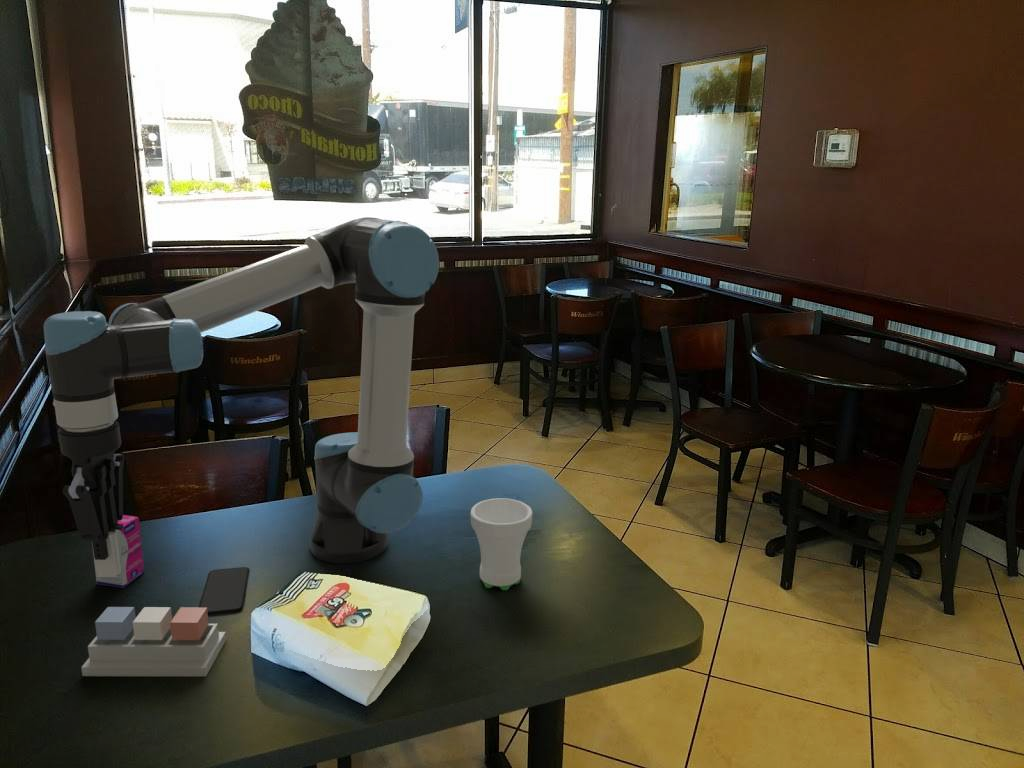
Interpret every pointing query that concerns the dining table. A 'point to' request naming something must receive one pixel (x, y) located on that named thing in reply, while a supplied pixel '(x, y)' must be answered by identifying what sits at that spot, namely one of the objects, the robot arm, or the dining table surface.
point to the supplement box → (126, 554)
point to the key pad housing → (154, 655)
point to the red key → (189, 623)
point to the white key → (152, 623)
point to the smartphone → (225, 590)
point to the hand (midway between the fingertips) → (109, 573)
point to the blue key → (115, 623)
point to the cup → (501, 539)
